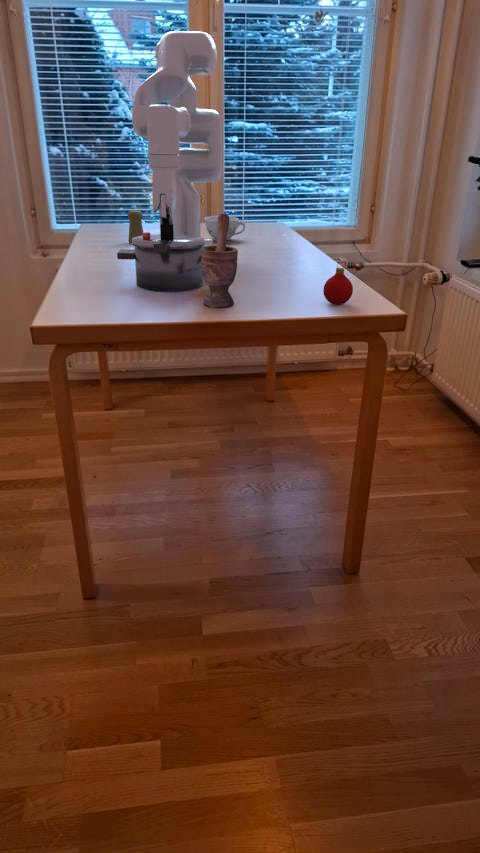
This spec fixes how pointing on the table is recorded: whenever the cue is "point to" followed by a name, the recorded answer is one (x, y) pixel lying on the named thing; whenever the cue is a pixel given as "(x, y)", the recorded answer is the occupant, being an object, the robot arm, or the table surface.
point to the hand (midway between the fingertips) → (167, 240)
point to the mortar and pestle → (219, 267)
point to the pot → (166, 268)
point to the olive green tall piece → (135, 224)
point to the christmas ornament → (338, 288)
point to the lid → (167, 242)
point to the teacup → (233, 225)
